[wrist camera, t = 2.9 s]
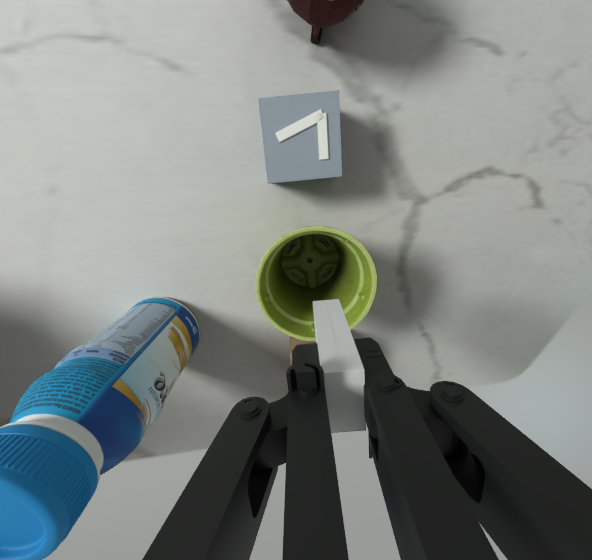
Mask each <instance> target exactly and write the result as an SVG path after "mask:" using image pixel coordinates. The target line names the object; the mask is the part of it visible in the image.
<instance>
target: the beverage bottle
mask: <svg viewBox="0 0 592 560" xmlns="http://www.w3.org/2000/svg"><path fill="white" fill-rule="evenodd" d="M199 338H200V330H199V325H198V322H197V320H196V318H195V316H194V315H193V314H192V312H191V311H190V310H189V309H188V308H187V307H185V306H184V305H183V304H181V303H179V302H177V301H175V300H172V299H169V298H164V297H153V298H148V299H145V300H143V301H141V302H139V303H137V304H136V305H135V306H133V307H132V308H131V309H130V310H129V311H128V312H127V313H126V314H125V315H124V316H122V317H121V318H120V319H118V320H117V321H116V322H114V323H113V324H112V325H110V326H109V327H108V328H107V329H105V330H104V331H103V332H101V333H100V334H99V335H97V336H96V337H95V338H93V339H92V340H90V341H89V342H88V343H86V344H83V345H81V346H79V347H77V348H75V349H73V350H72V351H70V352H69V353H68V354H67V355H65V356H64V357H63V358H62V359H61V360H60V361H59V362H58V363H57V364H56V366H55V367H54V369H53V370H51V371H49V372H47V373H45V374H43V375H42V376H40V377H39V378H38V379H36V380H35V381H34V382H33V383H32V384H31V385H30V387H29V388H28V389H27V390H26V392H25V393H24V394H23V396H22V397H21V399H20V400H19V402H18V404H17V406H16V408H15V410H14V412H13V415H12V417H11V420H10V423H9V424H6V425H4V426H2V427H0V560H42V559H44V558H46V557H47V556H48V555H50V554H51V553H52V552H53V551H54V550H55V549H56V548H57V547H58V546H59V544H60V543H61V542H62V541H63V540H64V539H65V538H66V537H67V535H68V533H69V532H70V531H71V529H72V527H73V526H74V524H75V523H76V521H77V520H78V518H79V517H80V515H81V514H82V512H83V510H84V509H85V507H86V506H87V504H88V502H89V501H90V499H91V498H92V496H93V494H94V492H95V490H96V487H97V484H98V482H99V478H100V475H101V474H103V473H105V472H106V471H108V470H110V469H111V468H113V467H114V466H116V465H117V464H119V463H120V462H121V461H122V460H124V459H125V458H126V457H127V456H128V455H129V454H130V453H131V452H132V451H133V450H134V449H135V448H136V447H137V445H138V444H139V443H140V441H141V439H142V437H143V435H144V433H145V429H146V428H147V427H148V426H149V425H150V424H151V423H152V422H153V421H154V420H155V418H156V417H157V416H158V414H159V412H160V411H161V409H162V407H163V404H164V401H165V399H166V397H167V395H168V394H169V392H170V390H171V389H172V387H173V385H174V383H175V382H176V380H177V378H178V377H179V375H180V373H181V372H182V370H183V368H184V367H185V365H186V363H187V361H188V360H189V358H190V357H191V355H192V354H193V352H194V351H195V349H196V347H197V345H198V342H199Z"/></svg>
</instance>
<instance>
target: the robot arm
mask: <svg viewBox="0 0 592 560" xmlns="http://www.w3.org/2000/svg"><path fill="white" fill-rule="evenodd" d="M313 312H314V324H315V336H316V343H312V344H300V345H296V346H295V348H294V349H293V351H292V366H291V367H290V368H289V369H288V370H287V373H286V374H287V382H288V390H289V392H288V394H287V395H286V396H285V397H283V398H282V399H280V400H278V401H275V402H272V403H269V404H268V402H267V401H266V400H265V399H263V398H260V397H249V398H246V399H243V400H241V401H240V402H238V403H237V404H236V405H235V406H234V407H233V409H232V410H231V412H230V414H229V415H228V417H227V419H226V420H225V422H224V424H223V425H222V427H221V429H220V430H219V432H218V434H217V435H216V437H215V439H214V440H213V442H212V444H211V445H210V447H209V449H208V450H207V452H206V454H205V456H204V457H203V459H202V461H201V462H200V464H199V466H198V468H197V469H196V471H195V472H194V474H193V476H192V477H191V479H190V481H189V482H188V484H187V486H186V487H185V489H184V491H183V492H182V494H181V496H180V497H179V499H178V501H177V502H176V504H175V506H174V507H173V509H172V511H171V512H170V514H169V516H168V518H167V519H166V521H165V523H164V524H163V526H162V528H161V530H160V531H159V533H158V534H157V536H156V538H155V539H154V541H153V543H152V544H151V546H150V548H149V550H148V551H147V553H146V555H145V556H144V558H143V559H142V560H249V558H250V555H251V552H252V549H253V546H254V543H255V540H256V536H257V533H258V530H259V527H260V524H261V521H262V518H263V514H264V511H265V508H266V505H267V502H268V499H269V495H270V492H271V489H272V486H273V483H274V480H275V477H276V474H277V470H278V466H279V465H282V464H284V463H286V483H285V509H284V510H285V511H284V537H283V560H349V559H348V552H347V544H346V537H345V530H344V524H343V516H342V508H341V501H340V494H339V487H338V480H337V472H336V465H335V458H334V451H333V444H332V437H331V433H334V432H348V431H361V430H362V431H363V430H366V423H367V427H368V430H369V458H372V455H373V459H374V463H375V466H376V470H377V474H378V477H379V481H380V485H381V488H382V492H383V496H384V499H385V503H386V507H387V510H388V514H389V517H390V521H391V525H392V528H393V532H394V536H395V540H396V543H397V547H398V550H399V554H400V558H401V560H499V559H498V558H497V556H496V554H495V552H494V550H493V548H492V546H491V545H490V543H489V541H488V539H487V537H486V535H485V533H484V531H483V529H482V528H481V526H480V524H481V525H482V527H483V528H484V529H485V530H486V532H487V533H488V534H489V536H490V537H491V538H492V540H493V541H494V542H495V543H496V545H497V546H498V547H499V549H500V550H501V551H502V553H503V554H504V555H505V557H506V558H507V559H508V560H592V489H591V488H590V487H588V486H587V485H586V484H584V483H583V482H582V481H581V480H580V479H579V478H577V477H576V476H575V475H574V474H572V473H571V472H570V471H569V470H567V469H566V468H565V467H564V466H562V465H561V464H560V463H559V462H558V461H556V460H555V459H554V458H553V457H551V456H550V455H549V454H548V453H547V452H545V451H544V450H543V449H541V448H540V447H539V446H538V445H537V444H535V443H534V442H533V441H532V440H531V439H529V438H528V437H527V436H526V435H524V434H523V433H522V432H521V431H519V430H518V429H517V428H516V427H515V426H513V425H512V424H511V423H510V422H508V421H507V420H506V419H505V418H503V417H502V416H501V415H500V414H499V413H497V412H496V411H495V410H494V409H492V408H491V407H490V406H489V405H487V404H486V403H485V402H484V401H482V400H481V399H480V398H479V397H478V396H476V395H475V394H474V393H473V392H471V391H470V390H469V389H467V388H466V387H464V386H463V385H460V384H457V383H455V382H449V381H441V382H437V383H435V384H433V385H432V386H431V388H430V391H424V390H417V389H413V388H409V387H407V386H406V385H405V383H404V382H403V381H402V380H401V379H400V378H398V377H397V376H395V375H394V374H393V372H392V370H391V368H390V366H389V364H388V362H387V360H386V358H385V357H384V354H383V352H382V351H381V348H380V346H379V344H378V343H377V342H376V341H374V340H373V339H371V338H363V339H353V337H352V334H351V331H350V329H349V326H348V323H347V320H346V317H345V315H344V312H343V309H342V306H341V304H340V301H339V299H333V300H322V301H313ZM478 521H479V522H478ZM479 523H480V524H479Z"/></svg>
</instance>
